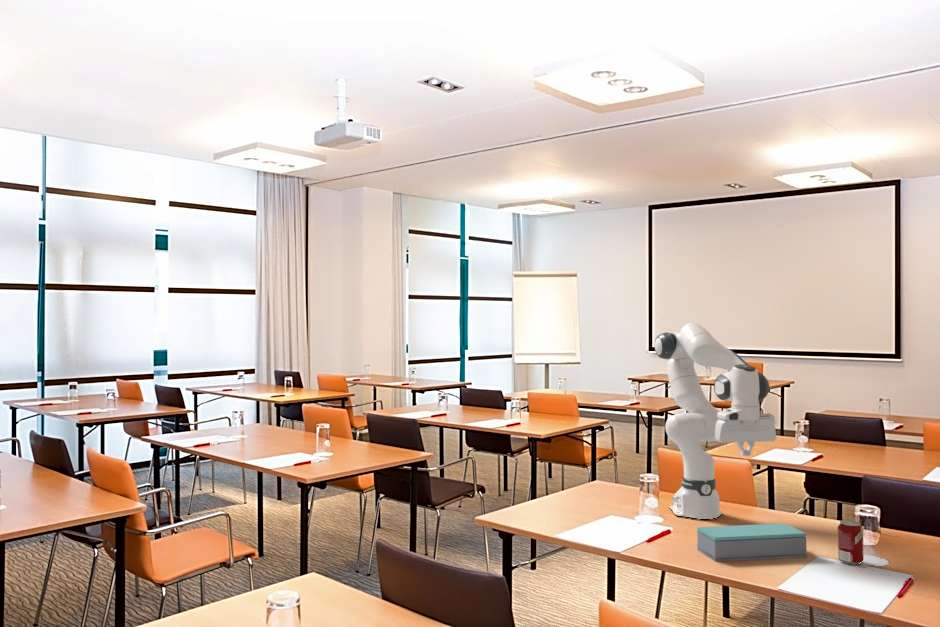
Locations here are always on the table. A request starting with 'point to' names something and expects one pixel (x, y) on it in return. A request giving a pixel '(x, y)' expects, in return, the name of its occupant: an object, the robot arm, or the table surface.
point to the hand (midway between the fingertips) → (745, 455)
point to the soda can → (850, 542)
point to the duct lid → (750, 532)
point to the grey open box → (752, 548)
